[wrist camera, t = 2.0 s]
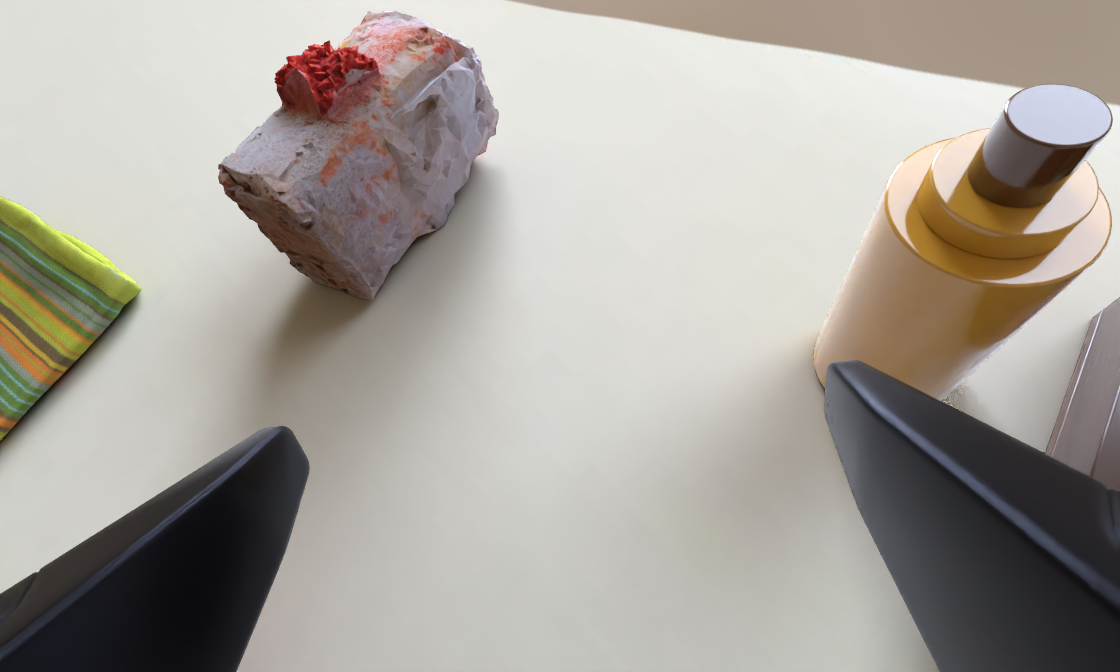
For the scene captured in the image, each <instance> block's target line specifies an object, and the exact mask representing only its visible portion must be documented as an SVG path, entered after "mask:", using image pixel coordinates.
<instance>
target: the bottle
mask: <svg viewBox="0 0 1120 672" xmlns="http://www.w3.org/2000/svg"><path fill="white" fill-rule="evenodd" d="M1112 121H1113V119H1112V113H1111V111H1110V109H1109V107H1108V106H1107V105H1106V103H1104V102H1103V101H1102V100H1101V99H1100V98H1099V97H1097V96H1096V95H1094V94H1092V93H1090V92H1088V91H1086V90H1083V89H1081V88H1077V87H1073V86H1068V85H1062V84H1043V85H1036V86H1032V87H1028V88H1026V89H1023V90H1021V91H1019V92H1017V93H1016V94H1015V95H1013V96H1012V97H1011V98H1010V99H1009V100H1008V101H1007V102H1006V104H1005V106H1004V107H1003V109H1002V111H1001V112H1000V114H999V115H998V117H997V119H996V120H995V122H994V124H993V125H992V127H991V128H989V129H982V130H977V131H973V132H969V133H967V134H964V135H961V136H959V137H957V138H951V139H947V140H943V141H939V142H936V143H933V144H931V145H928V146H926V147H924V148H922V149H920V150H918V151H916V152H915V153H913V154H912V155H910V156H909V157H907V158H906V159H905V160H904V161H903V162H901V163H900V164H899V165H898V166H897V168H896V169H895V170H894V171H893V173H892V174H891V176H890V178H889V180H888V182H887V184H886V186H885V188H884V190H883V193H882V195H881V197H880V199H879V202H878V204H877V206H876V208H875V211H874V213H873V215H872V217H871V219H870V222H869V224H868V226H867V228H866V231H865V233H864V235H863V237H862V240H861V242H860V244H859V246H858V248H857V251H856V253H855V255H854V257H853V260H852V262H851V264H850V266H849V269H848V271H847V273H846V275H845V277H844V280H843V282H842V284H841V286H840V289H839V291H838V293H837V295H836V298H835V300H834V302H833V304H832V306H831V309H830V311H829V313H828V315H827V318H826V320H825V322H824V324H823V327H822V329H821V331H820V333H819V335H818V338H817V340H816V343H815V346H814V352H813V360H814V367H815V370H816V373H817V376H818V378H819V380H820V382H821V383H822V385H823V387H824V388H825V385H826V371H827V368H828V365H829V364H831V363H832V362H839V361H847V360H859V361H862V362H864V363H866V364H868V365H870V366H872V367H874V368H876V369H878V370H880V371H882V372H884V373H886V374H888V375H890V376H892V377H894V378H896V379H898V380H900V381H902V382H904V383H906V384H908V385H910V386H912V387H914V388H916V389H918V390H920V391H922V392H924V393H926V394H928V395H930V396H932V397H934V398H936V399H938V400H940V401H942V400H944V399H945V398H946V397H947V396H948V395H949V394H950V393H951V392H952V391H953V390H955V389H956V388H957V387H958V386H959V385H960V384H961V383H962V382H963V381H964V380H966V379H967V378H968V377H969V376H970V375H971V374H972V373H973V372H974V371H975V370H976V369H978V368H979V367H980V366H981V365H982V364H983V363H984V362H985V361H986V360H987V359H989V358H990V357H991V356H992V355H993V354H994V353H995V352H996V351H997V350H998V349H1000V348H1001V347H1002V346H1003V345H1004V344H1005V343H1006V342H1007V341H1008V340H1009V339H1011V338H1012V337H1013V336H1014V335H1015V334H1016V333H1017V332H1018V331H1019V330H1020V329H1022V328H1023V327H1024V326H1025V325H1026V324H1027V323H1028V322H1029V321H1030V320H1031V319H1033V318H1034V317H1035V316H1036V315H1037V314H1038V313H1039V312H1040V311H1041V310H1042V309H1044V308H1045V307H1046V306H1047V305H1048V304H1049V303H1050V302H1051V301H1052V300H1053V299H1054V298H1056V297H1057V296H1058V295H1059V294H1060V293H1061V292H1062V291H1063V290H1064V289H1065V288H1067V287H1068V286H1069V285H1070V284H1071V283H1072V282H1073V281H1074V280H1075V279H1076V278H1078V277H1079V276H1080V275H1081V274H1082V273H1083V272H1084V271H1085V270H1086V269H1087V268H1089V267H1090V266H1091V265H1092V264H1093V263H1094V262H1095V261H1096V260H1097V259H1098V258H1099V257H1100V255H1101V254H1102V252H1103V251H1104V249H1105V248H1106V246H1107V243H1108V240H1109V238H1110V234H1111V227H1112V219H1111V212H1110V208H1109V204H1108V202H1107V200H1106V198H1105V196H1104V194H1103V192H1102V191H1101V189H1100V188H1099V185H1098V180H1097V177H1096V175H1095V172H1094V170H1093V169H1092V167H1091V166H1090V164H1089V163H1088V162H1087V161H1086V159H1087V158H1088V157H1089V155H1090V154H1091V153H1092V152H1093V151H1094V150H1095V148H1096V147H1097V146H1098V145H1099V144H1100V142H1101V141H1102V140H1103V139H1104V138H1105V137H1106V135H1107V134H1108V133H1109V131H1110V129H1111V127H1112Z"/></svg>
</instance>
